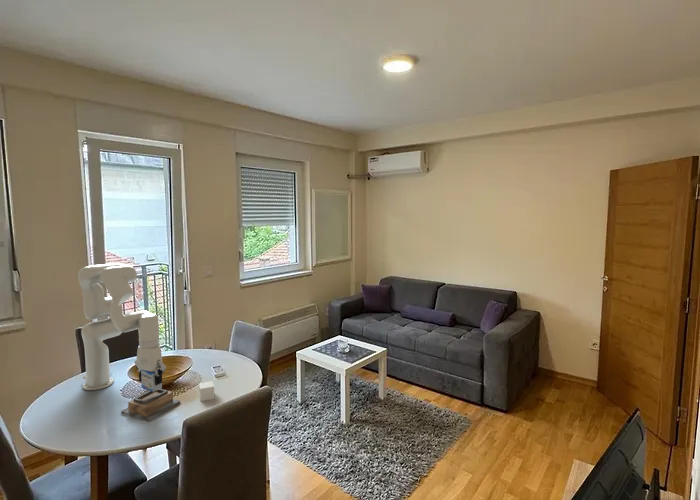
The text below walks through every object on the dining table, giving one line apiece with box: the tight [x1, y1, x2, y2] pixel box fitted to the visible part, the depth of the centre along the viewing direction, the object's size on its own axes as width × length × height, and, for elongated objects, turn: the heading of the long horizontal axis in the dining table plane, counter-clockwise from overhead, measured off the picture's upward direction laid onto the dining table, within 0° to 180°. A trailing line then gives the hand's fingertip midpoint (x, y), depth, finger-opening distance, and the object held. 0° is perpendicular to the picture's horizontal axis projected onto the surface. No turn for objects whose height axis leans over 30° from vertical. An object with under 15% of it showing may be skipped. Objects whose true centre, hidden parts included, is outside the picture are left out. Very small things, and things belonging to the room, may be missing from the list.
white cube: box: [198, 380, 215, 402], centre depth 174 cm, size 6×6×6 cm
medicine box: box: [140, 370, 163, 392], centre depth 162 cm, size 8×4×9 cm, turn 62°
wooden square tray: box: [120, 388, 181, 422], centre depth 163 cm, size 16×16×6 cm
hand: (150, 382), depth 162 cm, fingers closed on medicine box, 8 cm apart
